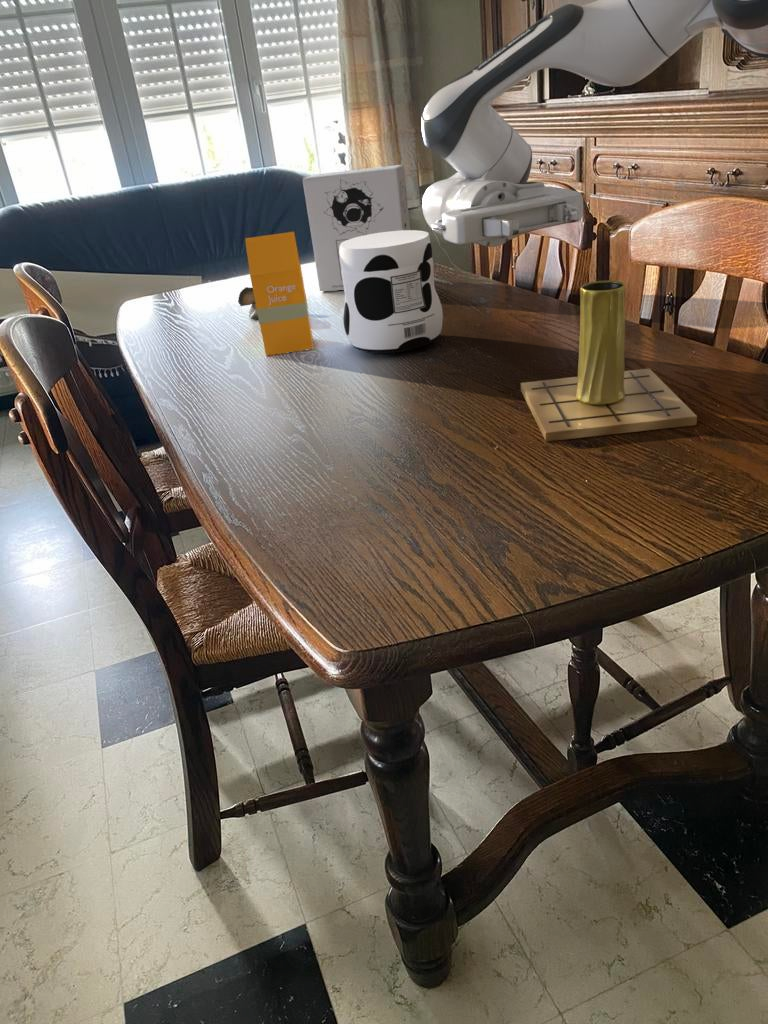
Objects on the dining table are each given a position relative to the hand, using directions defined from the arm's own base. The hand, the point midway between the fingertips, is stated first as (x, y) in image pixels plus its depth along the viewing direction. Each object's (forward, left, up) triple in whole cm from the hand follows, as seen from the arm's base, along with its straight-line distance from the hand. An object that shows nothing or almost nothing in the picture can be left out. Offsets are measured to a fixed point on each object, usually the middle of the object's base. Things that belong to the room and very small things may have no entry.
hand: (545, 221), depth 97 cm
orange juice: (+41, -34, -22) cm, 58 cm away
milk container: (+21, -27, -22) cm, 41 cm away
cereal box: (+27, -78, -22) cm, 85 cm away
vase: (-5, +11, -21) cm, 24 cm away
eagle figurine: (+51, -62, -22) cm, 83 cm away
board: (-5, +11, -22) cm, 25 cm away
